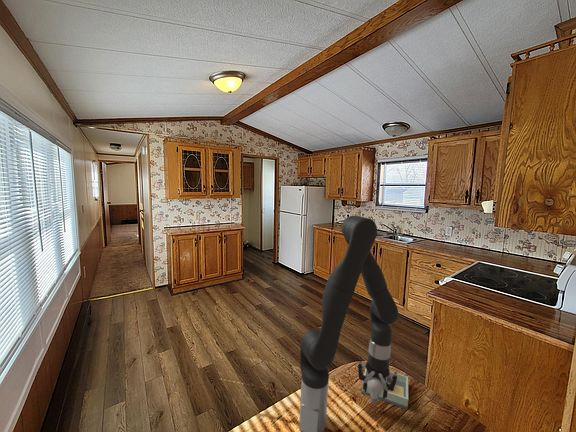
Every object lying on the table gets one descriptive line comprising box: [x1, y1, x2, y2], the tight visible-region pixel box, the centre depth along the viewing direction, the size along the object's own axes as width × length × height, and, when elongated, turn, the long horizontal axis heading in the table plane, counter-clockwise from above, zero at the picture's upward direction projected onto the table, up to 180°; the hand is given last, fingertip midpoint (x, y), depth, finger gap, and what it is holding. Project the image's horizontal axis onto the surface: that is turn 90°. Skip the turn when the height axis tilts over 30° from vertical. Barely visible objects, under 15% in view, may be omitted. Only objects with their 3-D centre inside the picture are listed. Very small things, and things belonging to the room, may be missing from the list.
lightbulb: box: [367, 377, 384, 404], centre depth 96 cm, size 6×6×11 cm
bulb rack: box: [361, 367, 409, 410], centre depth 107 cm, size 13×17×10 cm
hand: (374, 393), depth 96 cm, fingers closed on lightbulb, 6 cm apart
